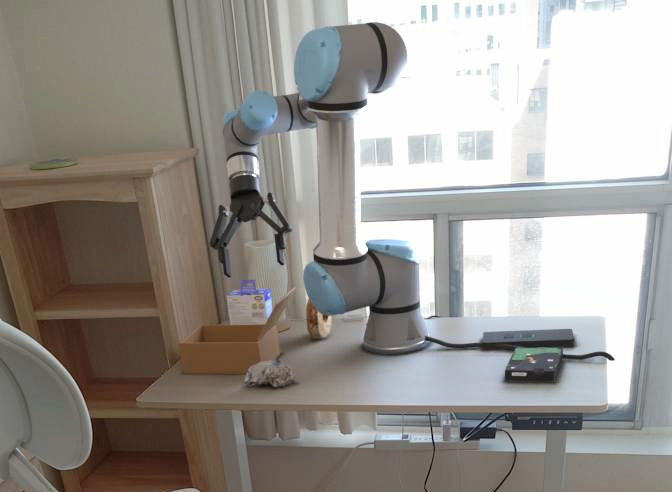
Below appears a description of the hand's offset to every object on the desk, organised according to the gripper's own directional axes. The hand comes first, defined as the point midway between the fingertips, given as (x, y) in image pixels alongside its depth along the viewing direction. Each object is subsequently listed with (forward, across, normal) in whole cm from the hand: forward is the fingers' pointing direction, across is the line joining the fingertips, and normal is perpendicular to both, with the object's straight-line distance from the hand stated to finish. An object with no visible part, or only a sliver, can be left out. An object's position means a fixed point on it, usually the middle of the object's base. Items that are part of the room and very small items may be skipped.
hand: (254, 269), depth 219 cm
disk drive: (+37, -62, +6) cm, 72 cm away
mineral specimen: (+32, -7, +16) cm, 37 cm away
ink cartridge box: (+14, +5, -9) cm, 17 cm away
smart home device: (+26, -60, -10) cm, 66 cm away
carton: (+22, +6, +5) cm, 24 cm away
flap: (+15, -8, +11) cm, 20 cm away
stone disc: (+15, -11, -12) cm, 23 cm away
